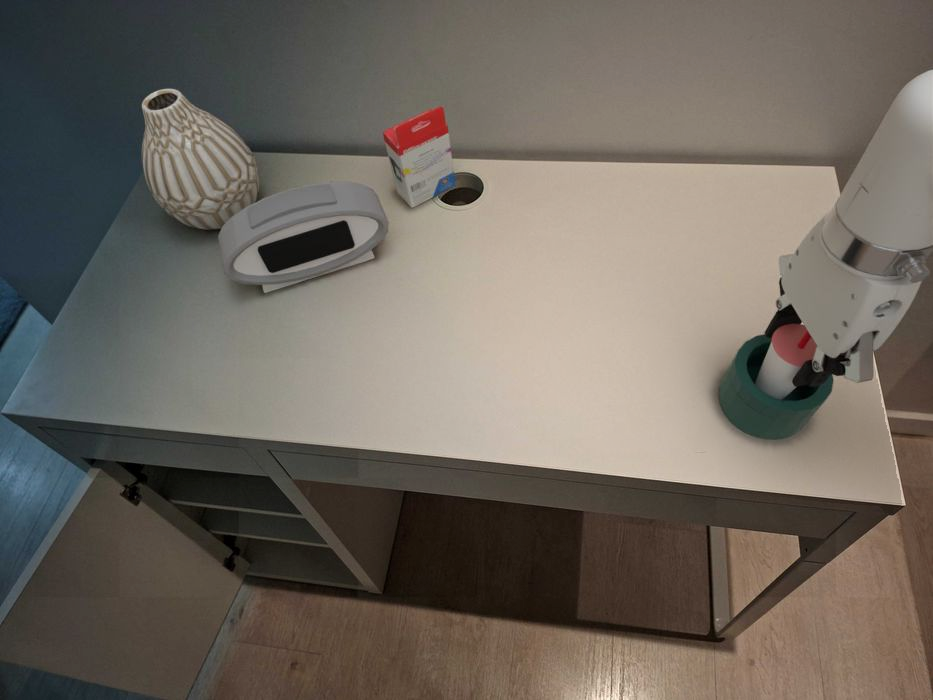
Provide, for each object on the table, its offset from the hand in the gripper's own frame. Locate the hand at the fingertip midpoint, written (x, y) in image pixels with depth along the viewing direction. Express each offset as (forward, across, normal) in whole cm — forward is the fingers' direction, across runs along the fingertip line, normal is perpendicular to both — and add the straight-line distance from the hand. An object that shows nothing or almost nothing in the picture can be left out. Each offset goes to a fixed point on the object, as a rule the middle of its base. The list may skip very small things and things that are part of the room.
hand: (793, 356), depth 62 cm
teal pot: (+10, 0, 0) cm, 10 cm away
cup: (+7, 0, 0) cm, 7 cm away
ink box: (+10, +47, +34) cm, 59 cm away
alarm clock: (+10, +35, +52) cm, 64 cm away
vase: (+10, +51, +67) cm, 85 cm away
